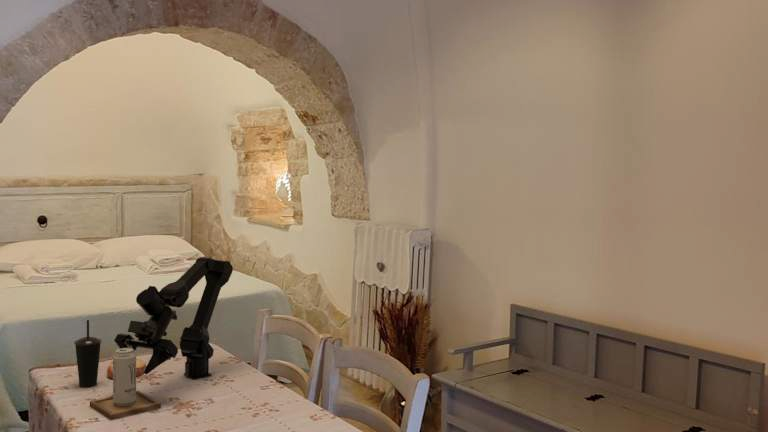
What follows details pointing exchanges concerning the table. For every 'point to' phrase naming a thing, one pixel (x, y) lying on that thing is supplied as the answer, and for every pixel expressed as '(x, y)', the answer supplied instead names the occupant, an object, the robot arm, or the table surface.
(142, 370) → the bread slice
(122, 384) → the energy drink can
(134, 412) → the tray
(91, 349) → the drinking cup
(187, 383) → the table surface
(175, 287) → the robot arm
